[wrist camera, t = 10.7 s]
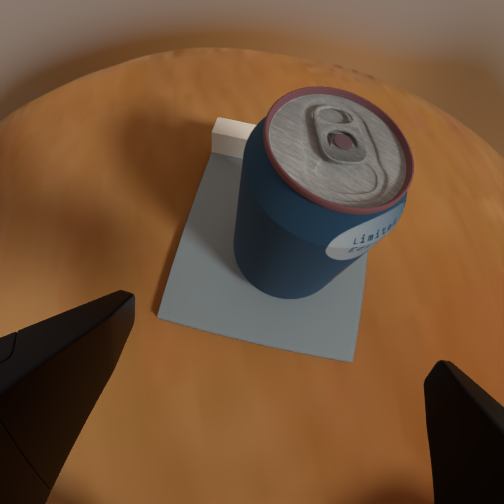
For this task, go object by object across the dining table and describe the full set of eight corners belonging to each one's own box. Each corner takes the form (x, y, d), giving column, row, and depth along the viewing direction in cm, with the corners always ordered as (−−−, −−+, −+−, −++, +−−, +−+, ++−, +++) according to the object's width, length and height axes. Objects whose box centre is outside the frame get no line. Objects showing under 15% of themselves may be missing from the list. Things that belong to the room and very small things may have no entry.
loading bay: (349, 362, 20) (367, 361, 17) (158, 318, 20) (148, 311, 17) (369, 181, 25) (384, 162, 22) (217, 141, 25) (217, 117, 22)
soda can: (339, 299, 21) (449, 228, 10) (235, 306, 20) (252, 229, 9) (325, 207, 23) (396, 88, 12) (230, 207, 23) (241, 71, 11)
